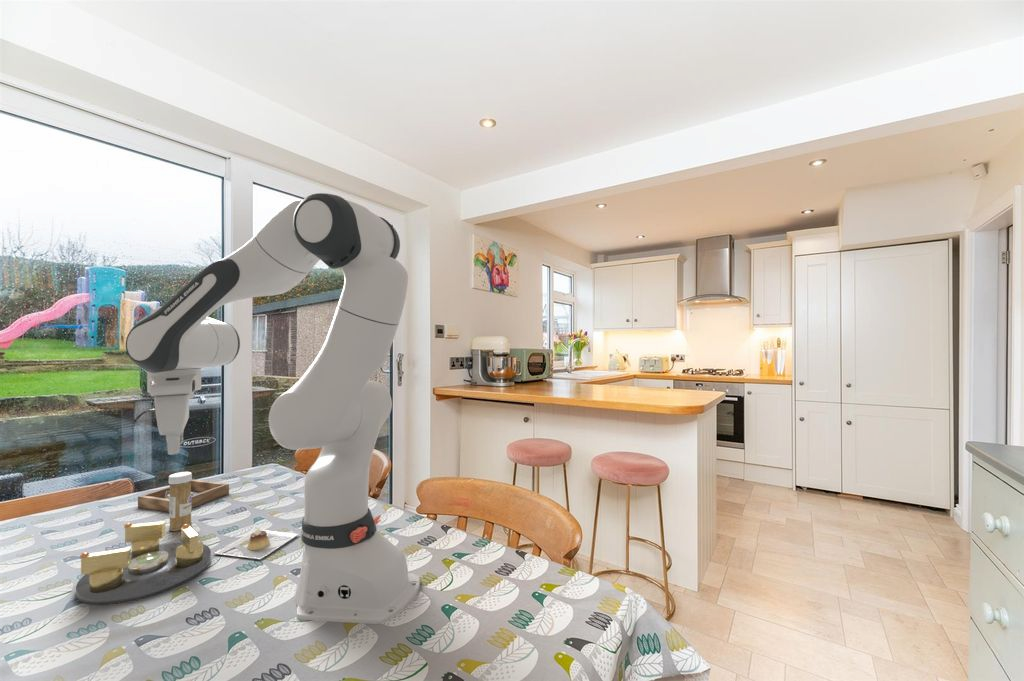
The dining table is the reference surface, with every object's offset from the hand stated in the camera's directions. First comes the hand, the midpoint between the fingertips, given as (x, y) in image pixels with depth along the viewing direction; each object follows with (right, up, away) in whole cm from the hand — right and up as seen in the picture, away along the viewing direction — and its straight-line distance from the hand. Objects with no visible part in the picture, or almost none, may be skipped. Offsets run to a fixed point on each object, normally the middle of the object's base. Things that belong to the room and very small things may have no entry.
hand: (175, 449), depth 88 cm
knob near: (+5, -22, -3) cm, 23 cm away
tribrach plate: (-2, -24, -5) cm, 25 cm away
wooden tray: (-25, -24, +35) cm, 49 cm away
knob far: (-7, -22, 0) cm, 23 cm away
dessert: (+12, -25, +8) cm, 29 cm away
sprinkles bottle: (-12, -24, +17) cm, 32 cm away
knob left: (-4, -22, -11) cm, 25 cm away
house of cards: (-29, -25, +35) cm, 52 cm away
